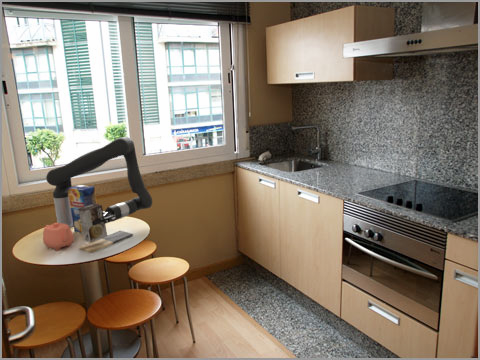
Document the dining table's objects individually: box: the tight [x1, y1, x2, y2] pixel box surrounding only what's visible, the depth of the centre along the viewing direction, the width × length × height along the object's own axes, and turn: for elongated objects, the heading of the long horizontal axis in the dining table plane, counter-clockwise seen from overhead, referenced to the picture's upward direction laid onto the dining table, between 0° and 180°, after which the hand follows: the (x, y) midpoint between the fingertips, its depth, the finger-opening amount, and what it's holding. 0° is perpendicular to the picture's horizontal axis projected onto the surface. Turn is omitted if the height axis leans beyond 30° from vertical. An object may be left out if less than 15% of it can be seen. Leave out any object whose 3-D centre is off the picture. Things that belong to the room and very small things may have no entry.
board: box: [78, 230, 134, 254], centre depth 193 cm, size 10×24×1 cm, turn 144°
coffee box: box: [78, 203, 108, 243], centre depth 185 cm, size 9×6×16 cm
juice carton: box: [67, 184, 98, 234], centre depth 208 cm, size 12×8×24 cm, turn 62°
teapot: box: [42, 222, 75, 252], centre depth 189 cm, size 20×12×12 cm, turn 56°
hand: (88, 222), depth 183 cm, fingers closed on coffee box, 6 cm apart
